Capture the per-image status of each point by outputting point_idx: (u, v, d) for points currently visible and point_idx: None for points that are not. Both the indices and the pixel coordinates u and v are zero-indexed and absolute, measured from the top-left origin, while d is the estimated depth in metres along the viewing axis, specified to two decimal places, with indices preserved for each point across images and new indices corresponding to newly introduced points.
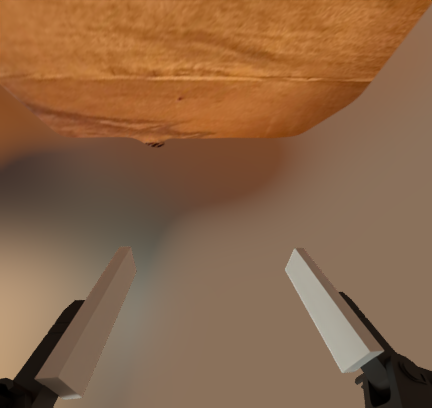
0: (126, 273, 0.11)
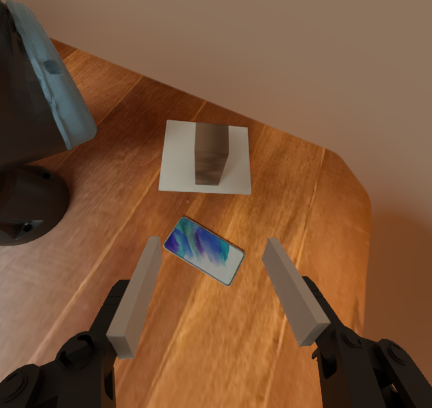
0: (157, 259, 0.12)
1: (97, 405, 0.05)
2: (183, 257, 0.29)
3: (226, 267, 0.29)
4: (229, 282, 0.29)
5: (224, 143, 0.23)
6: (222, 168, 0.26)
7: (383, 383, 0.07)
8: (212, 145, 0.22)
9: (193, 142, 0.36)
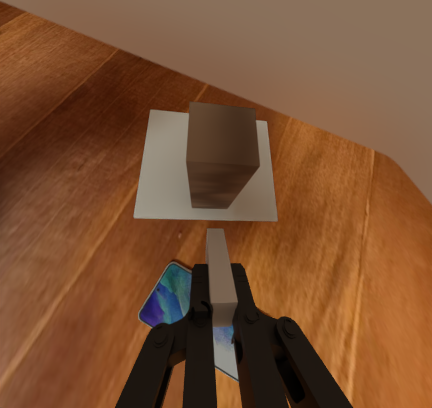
0: None
1: (212, 365, 0.06)
2: None
3: None
4: None
5: (249, 144, 0.11)
6: (239, 189, 0.15)
7: (285, 358, 0.08)
8: (223, 150, 0.10)
9: None
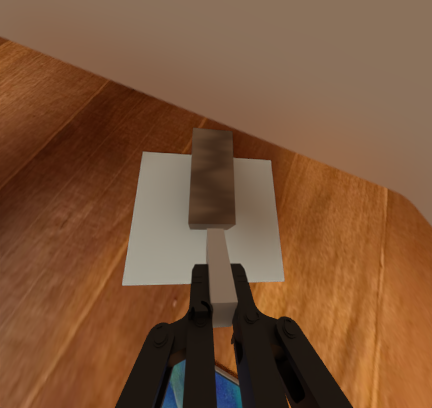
0: None
1: (212, 365, 0.06)
2: None
3: None
4: None
5: None
6: (231, 161, 0.18)
7: (285, 358, 0.08)
8: None
9: (185, 190, 0.22)
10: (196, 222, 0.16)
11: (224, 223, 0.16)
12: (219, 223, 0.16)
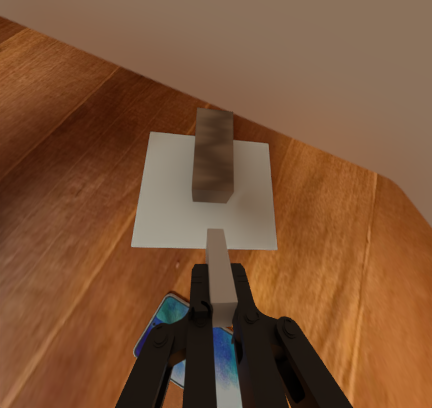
0: None
1: (212, 365, 0.06)
2: None
3: None
4: None
5: None
6: (231, 138, 0.20)
7: (285, 358, 0.08)
8: None
9: (189, 166, 0.24)
10: (199, 188, 0.18)
11: (223, 190, 0.18)
12: (219, 190, 0.18)
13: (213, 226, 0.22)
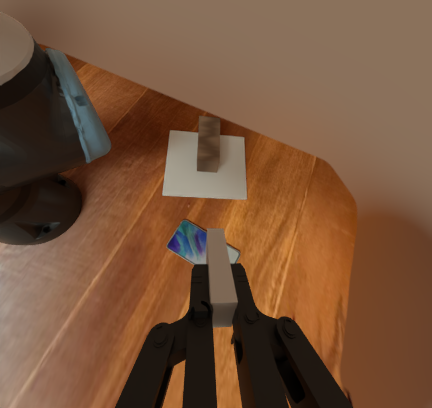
0: None
1: (212, 365, 0.06)
2: (184, 256, 0.32)
3: None
4: None
5: None
6: (218, 133, 0.36)
7: (285, 358, 0.08)
8: None
9: (194, 151, 0.39)
10: (200, 159, 0.33)
11: (214, 161, 0.33)
12: (211, 161, 0.33)
13: (209, 185, 0.37)
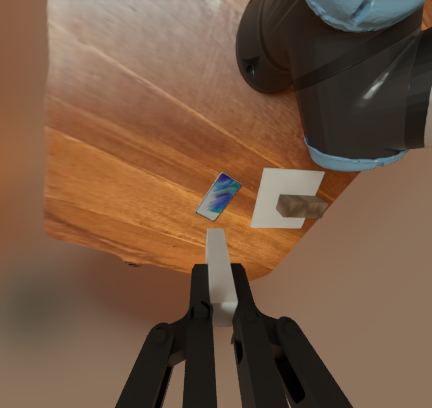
0: None
1: (212, 365, 0.06)
2: (213, 185, 0.43)
3: (206, 211, 0.47)
4: (197, 212, 0.47)
5: None
6: (307, 217, 0.45)
7: (285, 358, 0.08)
8: None
9: (298, 192, 0.46)
10: (287, 204, 0.42)
11: (284, 213, 0.43)
12: (284, 212, 0.43)
13: (266, 203, 0.47)
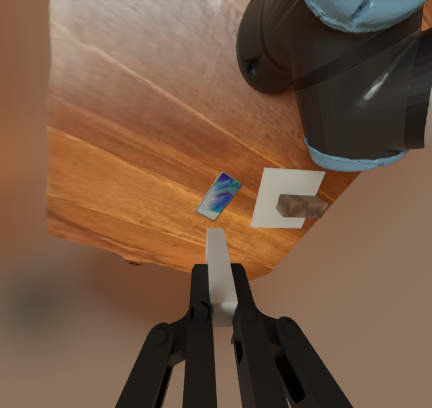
0: None
1: (212, 365, 0.06)
2: (214, 185, 0.43)
3: (206, 210, 0.47)
4: (197, 211, 0.47)
5: None
6: (307, 217, 0.45)
7: (285, 358, 0.08)
8: None
9: (298, 192, 0.46)
10: (287, 204, 0.42)
11: (284, 213, 0.43)
12: (285, 211, 0.43)
13: (266, 202, 0.47)
